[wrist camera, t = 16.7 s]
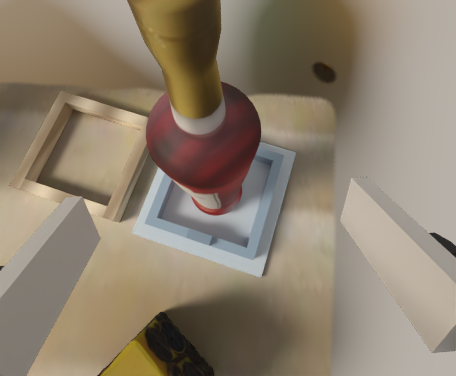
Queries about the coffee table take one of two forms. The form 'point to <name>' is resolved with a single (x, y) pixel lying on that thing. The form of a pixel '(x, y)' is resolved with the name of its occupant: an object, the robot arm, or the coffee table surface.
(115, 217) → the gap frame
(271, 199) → the tray
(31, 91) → the coffee table surface
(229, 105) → the liquor
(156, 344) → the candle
